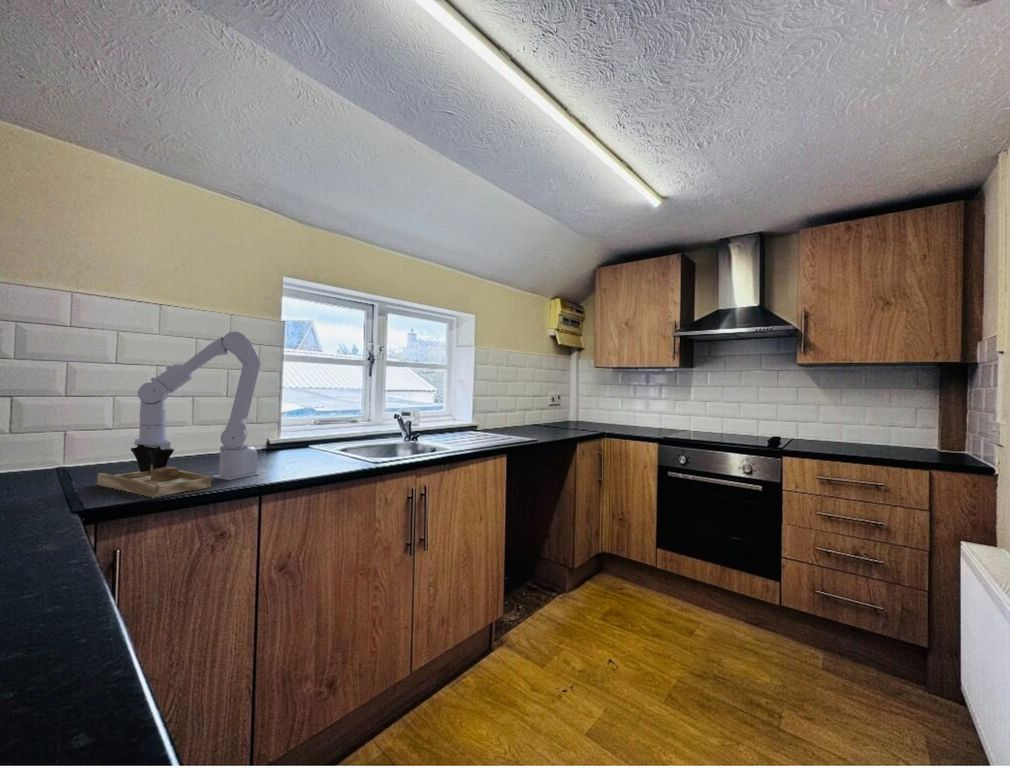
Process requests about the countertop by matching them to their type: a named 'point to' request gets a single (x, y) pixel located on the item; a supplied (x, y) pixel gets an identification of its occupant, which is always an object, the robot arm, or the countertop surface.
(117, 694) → the countertop surface
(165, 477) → the block
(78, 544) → the countertop surface
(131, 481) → the tray
